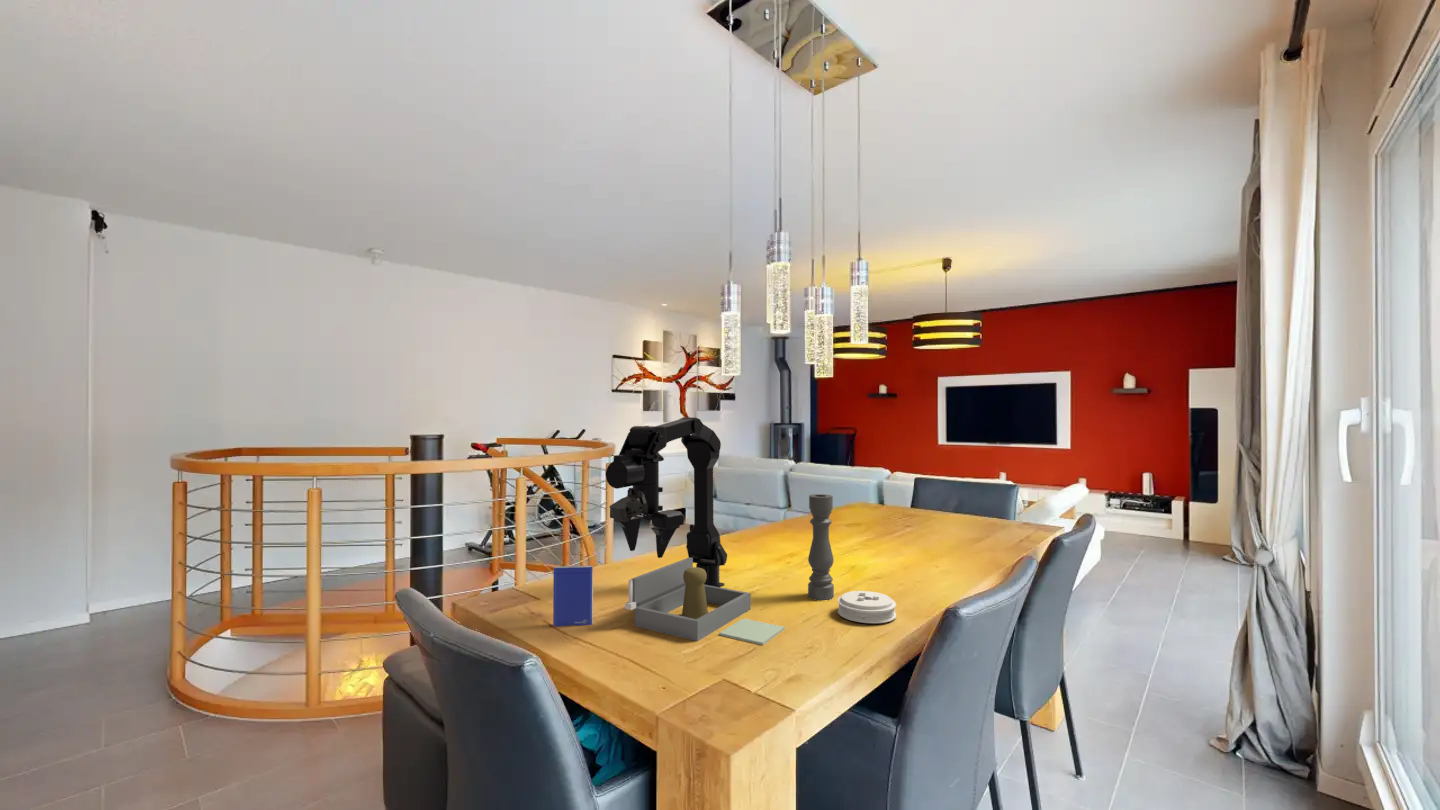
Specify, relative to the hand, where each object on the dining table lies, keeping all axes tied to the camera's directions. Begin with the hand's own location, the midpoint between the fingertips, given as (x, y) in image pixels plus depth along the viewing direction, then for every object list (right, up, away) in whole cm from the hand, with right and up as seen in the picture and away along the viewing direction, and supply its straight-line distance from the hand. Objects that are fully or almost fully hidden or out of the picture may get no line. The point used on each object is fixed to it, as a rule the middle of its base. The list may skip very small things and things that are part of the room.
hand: (645, 554), depth 133 cm
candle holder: (+41, -15, +15) cm, 46 cm away
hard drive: (-15, -14, -3) cm, 21 cm away
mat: (+23, -14, -8) cm, 28 cm away
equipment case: (+10, -14, 0) cm, 17 cm away
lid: (+49, -15, +2) cm, 51 cm away
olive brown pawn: (+11, -15, +1) cm, 18 cm away
